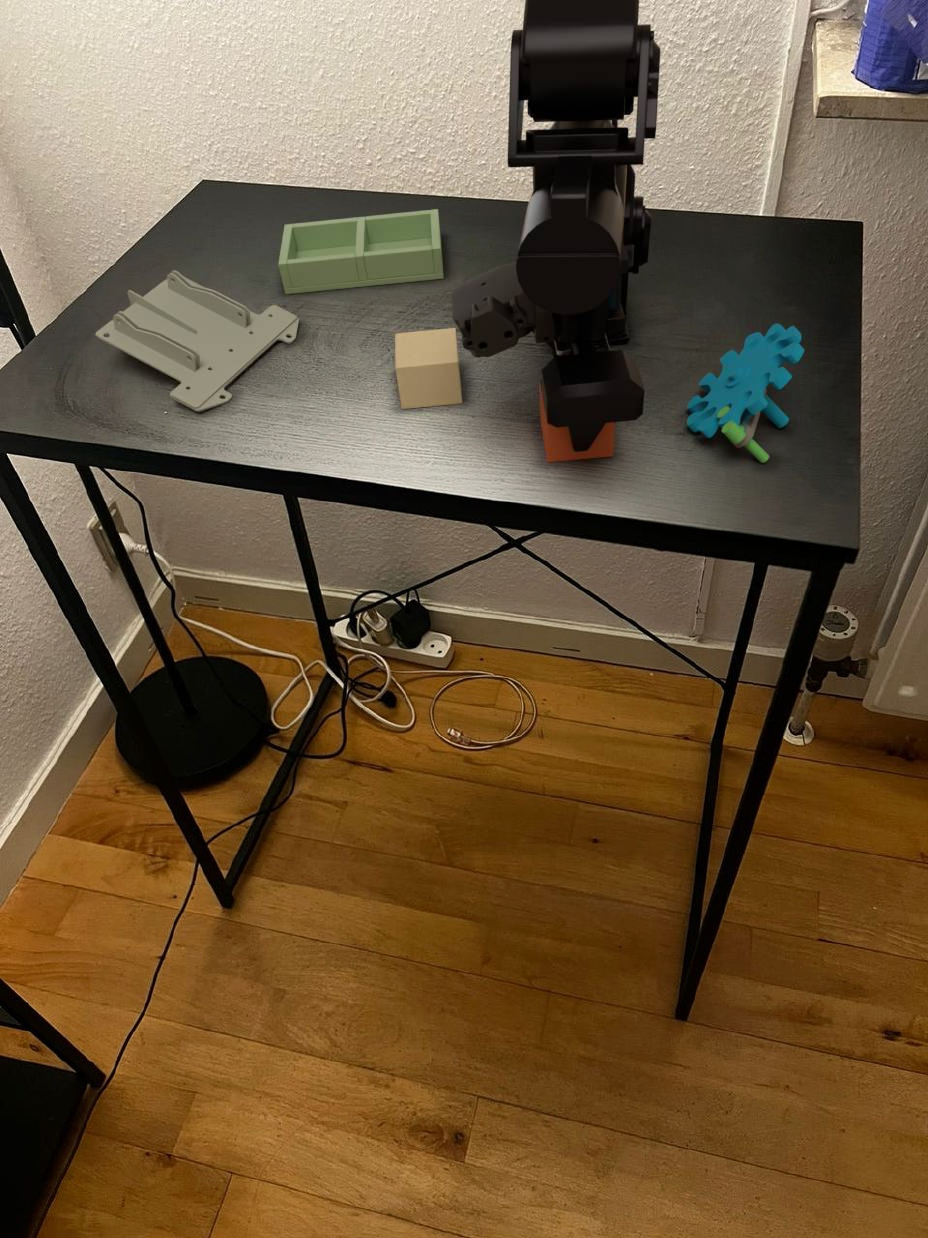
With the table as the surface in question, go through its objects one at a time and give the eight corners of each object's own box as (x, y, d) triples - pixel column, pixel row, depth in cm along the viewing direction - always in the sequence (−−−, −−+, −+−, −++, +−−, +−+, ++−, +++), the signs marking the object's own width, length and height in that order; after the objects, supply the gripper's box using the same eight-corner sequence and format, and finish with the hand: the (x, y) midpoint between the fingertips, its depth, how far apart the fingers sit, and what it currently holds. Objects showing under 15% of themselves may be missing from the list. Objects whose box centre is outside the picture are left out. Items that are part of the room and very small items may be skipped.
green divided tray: (441, 238, 96) (437, 208, 93) (443, 278, 90) (440, 247, 88) (291, 253, 96) (284, 224, 94) (285, 294, 91) (278, 264, 88)
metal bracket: (66, 324, 78) (179, 241, 87) (77, 377, 83) (184, 293, 92) (208, 400, 77) (311, 308, 85) (212, 450, 81) (308, 358, 90)
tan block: (459, 369, 80) (455, 327, 77) (462, 403, 77) (458, 361, 74) (401, 374, 80) (395, 333, 77) (401, 409, 77) (395, 367, 74)
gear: (698, 356, 75) (804, 294, 67) (745, 404, 78) (852, 349, 70) (662, 455, 70) (773, 399, 62) (713, 503, 72) (827, 455, 64)
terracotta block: (603, 416, 74) (605, 373, 71) (613, 456, 71) (615, 412, 68) (540, 422, 74) (539, 379, 71) (547, 462, 71) (546, 419, 68)
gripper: (447, 179, 67) (464, 369, 78) (460, 320, 54) (478, 520, 66) (604, 163, 66) (598, 356, 78) (653, 301, 54) (637, 505, 65)
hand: (576, 428), depth 72 cm, fingers closed on terracotta block, 5 cm apart
